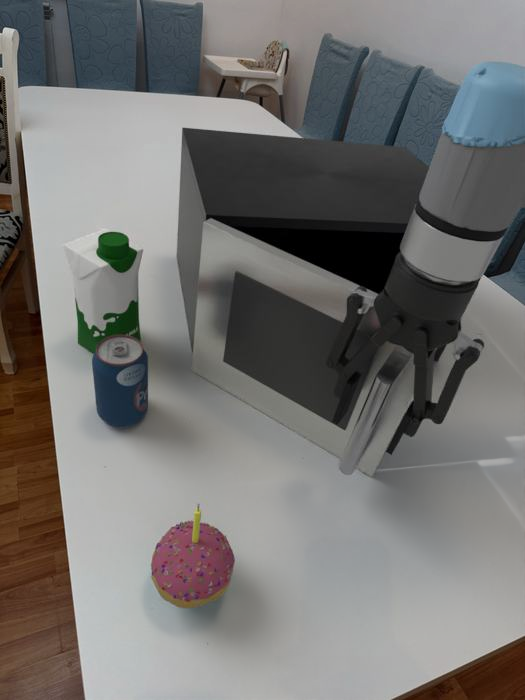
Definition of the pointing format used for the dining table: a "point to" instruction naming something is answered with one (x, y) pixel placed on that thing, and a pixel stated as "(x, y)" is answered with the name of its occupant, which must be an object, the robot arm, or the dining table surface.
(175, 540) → the cupcake
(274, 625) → the dining table surface
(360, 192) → the microwave
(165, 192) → the dining table surface
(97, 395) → the soda can
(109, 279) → the milk carton
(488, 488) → the dining table surface
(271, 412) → the microwave door
